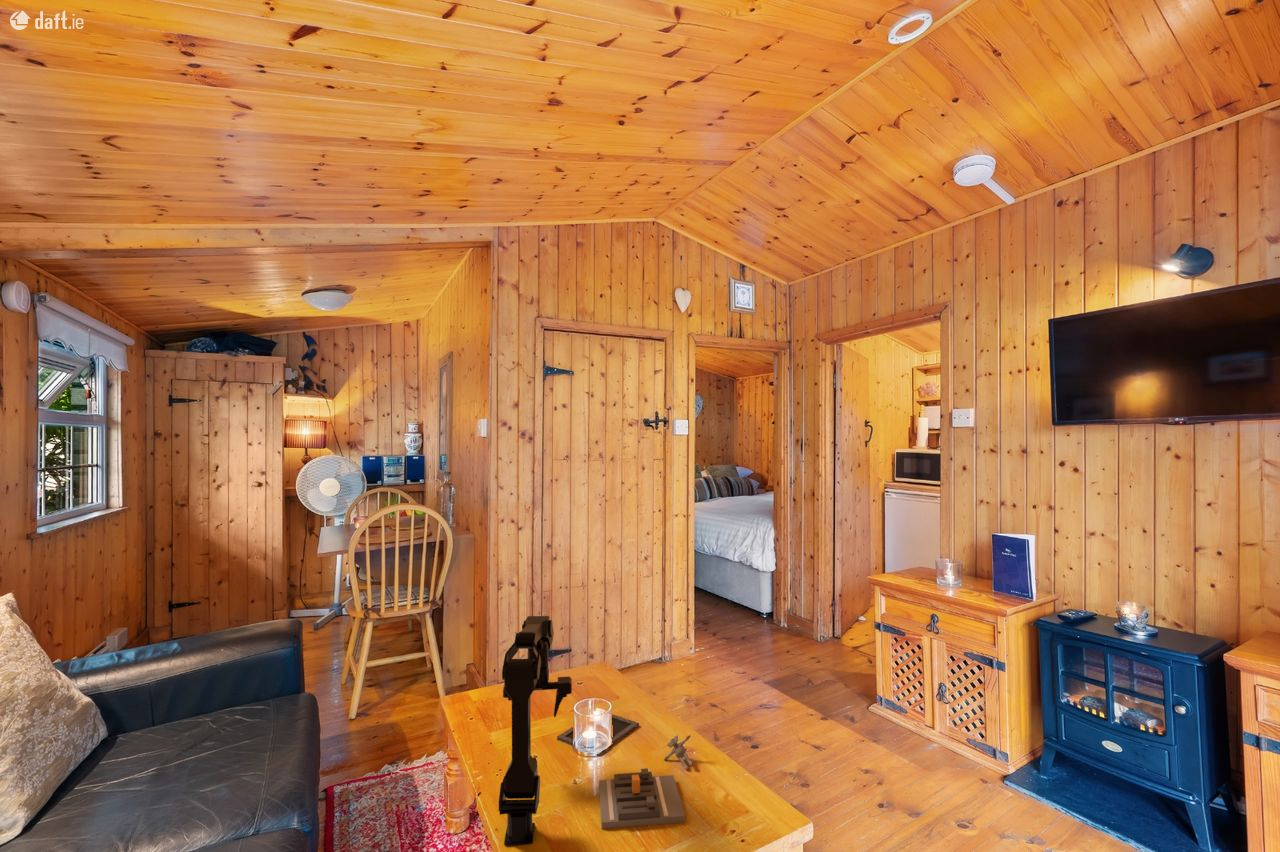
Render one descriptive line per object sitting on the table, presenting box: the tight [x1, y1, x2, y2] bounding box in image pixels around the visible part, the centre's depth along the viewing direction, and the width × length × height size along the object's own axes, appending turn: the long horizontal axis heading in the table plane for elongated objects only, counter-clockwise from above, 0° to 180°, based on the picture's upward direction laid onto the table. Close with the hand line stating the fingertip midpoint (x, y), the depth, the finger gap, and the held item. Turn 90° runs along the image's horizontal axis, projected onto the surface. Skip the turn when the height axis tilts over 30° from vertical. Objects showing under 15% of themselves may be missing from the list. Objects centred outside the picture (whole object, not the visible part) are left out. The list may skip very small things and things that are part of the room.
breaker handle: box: [632, 774, 640, 793], centre depth 146 cm, size 2×2×3 cm
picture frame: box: [556, 713, 640, 747], centre depth 181 cm, size 16×2×21 cm
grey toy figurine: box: [663, 734, 694, 771], centre depth 164 cm, size 10×6×9 cm
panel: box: [598, 767, 686, 830], centre depth 146 cm, size 17×20×4 cm
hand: (538, 717), depth 161 cm, fingers open, 9 cm apart
